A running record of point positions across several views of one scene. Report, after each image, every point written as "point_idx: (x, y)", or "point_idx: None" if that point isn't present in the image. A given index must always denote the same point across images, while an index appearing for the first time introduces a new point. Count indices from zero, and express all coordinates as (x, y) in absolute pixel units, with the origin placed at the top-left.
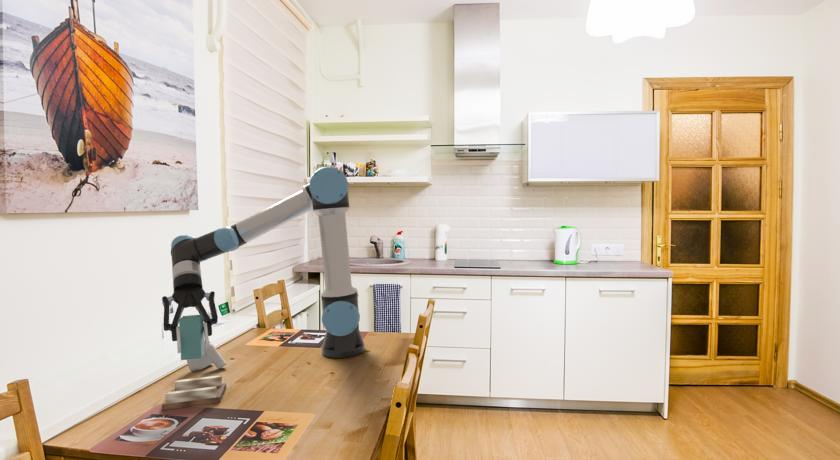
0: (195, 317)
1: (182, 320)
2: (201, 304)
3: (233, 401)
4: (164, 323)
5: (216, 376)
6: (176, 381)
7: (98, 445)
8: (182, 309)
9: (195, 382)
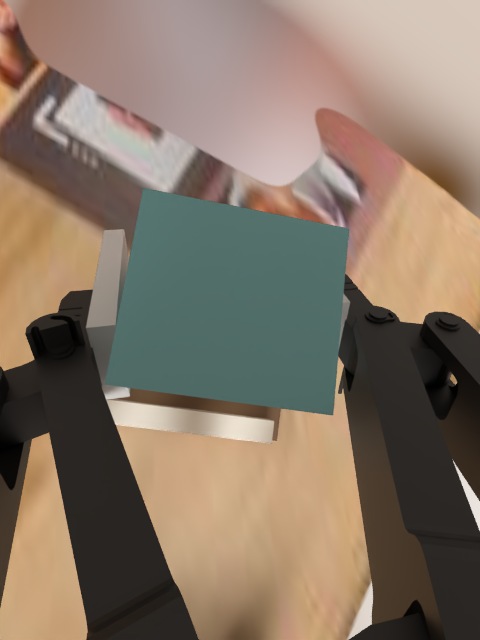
0: (189, 249)
1: (313, 225)
2: (97, 597)
3: (70, 273)
4: (464, 327)
5: (112, 413)
6: (267, 430)
7: (393, 170)
8: (386, 560)
9: (196, 410)
